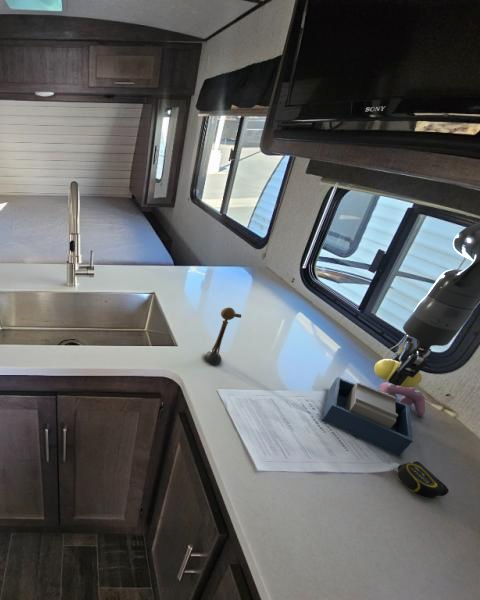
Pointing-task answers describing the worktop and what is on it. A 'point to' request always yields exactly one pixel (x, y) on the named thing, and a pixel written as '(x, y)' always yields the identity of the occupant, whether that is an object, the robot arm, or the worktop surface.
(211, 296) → the worktop surface
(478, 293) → the robot arm
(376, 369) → the yellow capsule
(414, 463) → the tape measure
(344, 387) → the crate
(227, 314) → the wooden tabletop sculpture
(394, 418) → the block
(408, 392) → the video game controller
